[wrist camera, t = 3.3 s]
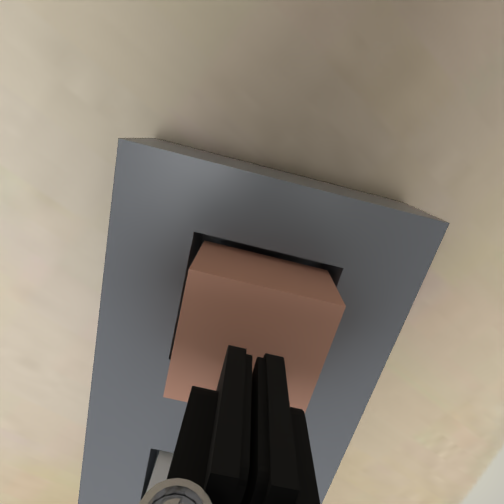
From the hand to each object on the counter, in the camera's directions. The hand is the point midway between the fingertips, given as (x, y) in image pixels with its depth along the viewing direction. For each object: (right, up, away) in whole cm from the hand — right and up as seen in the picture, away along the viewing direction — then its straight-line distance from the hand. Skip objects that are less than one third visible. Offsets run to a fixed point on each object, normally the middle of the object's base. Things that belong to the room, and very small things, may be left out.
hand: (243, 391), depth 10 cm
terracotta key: (0, +2, +4) cm, 4 cm away
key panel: (-1, -2, +9) cm, 9 cm away
